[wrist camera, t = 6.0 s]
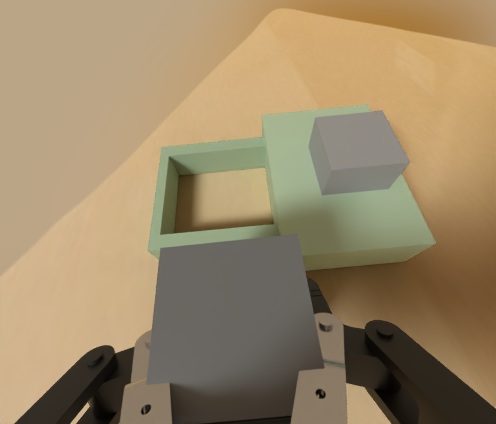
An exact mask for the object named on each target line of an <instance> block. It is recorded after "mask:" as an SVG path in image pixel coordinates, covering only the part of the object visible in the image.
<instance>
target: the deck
mask: <svg viewBox="0 0 496 424" xmlns="http://www.w3.org/2000/svg"><path fill="white" fill-rule="evenodd" d="M409 163H410V161H409V160H408V158H407V156H406V154H405V152H404V150H403V148H402V146H401V145H400V143H399V141H398V139H397V137H396V135H395V133H394V131H393V130H392V128H391V126H390V124H389V122H388V120H387V118H386V116H385V115H384V113H383V111H373V112H371V111H370V108H369V106H368V105H359V106H349V107H339V108H329V109H319V110H309V111H299V112H289V113H280V114H270V115H262V137H258V138H248V139H238V140H228V141H218V142H208V143H198V144H188V145H178V146H168V147H162V148H161V155H160V163H159V170H158V178H157V185H156V192H155V200H154V207H153V215H152V222H151V230H150V237H149V245H148V251H149V252H150V253H151V254H152V255H154V256H155V257H156V258H157V259H159V256H160V248H165V247H175V246H184V245H194V244H204V243H213V242H223V241H233V240H243V239H252V238H262V237H272V236H281V235H291V234H298V237H299V242H300V247H301V252H302V257H303V262H304V267H305V271H310V270H320V269H331V268H342V267H353V266H363V265H374V264H385V263H396V262H405V261H407V260H408V259H410V258H412V257H414V256H415V255H417V254H419V253H421V252H422V251H424V250H426V249H428V248H429V247H431V246H433V245H434V244H436V241H435V239H434V237H433V235H432V233H431V231H430V229H429V227H428V225H427V223H426V221H425V219H424V217H423V215H422V213H421V211H420V209H419V207H418V205H417V203H416V201H415V199H414V197H413V195H412V193H411V191H410V189H409V187H408V185H407V183H406V181H405V179H404V177H403V175H402V172H403V171H404V169H405V168H406V167H407V166H408V164H409ZM263 167H265V169H266V176H267V183H268V190H269V196H270V203H271V210H272V217H273V224H269V225H258V226H248V227H237V228H227V229H216V230H206V231H195V232H185V233H174V231H175V218H176V206H177V193H178V181H179V176H181V175H191V174H202V173H212V172H222V171H232V170H242V169H253V168H263Z"/></svg>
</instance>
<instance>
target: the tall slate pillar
mask: <svg viewBox="0 0 496 424" xmlns="http://www.w3.org/2000/svg"><path fill="white" fill-rule="evenodd" d="M324 368H325V367H324V362H323V357H322V352H321V347H320V342H319V337H318V332H317V327H316V322H315V317H314V312H313V307H312V302H311V297H310V292H309V287H308V282H307V277H306V272H305V267H304V262H303V257H302V252H301V247H300V242H299V237H298V234H291V235H281V236H272V237H262V238H252V239H243V240H233V241H223V242H213V243H204V244H194V245H184V246H175V247H165V248H160V256H159V266H158V275H157V285H156V295H155V304H154V314H153V324H152V333H151V343H150V353H149V363H148V372H147V382H146V385H150V384H161V383H170V389H171V396H172V403H173V409H174V418H175V424H203V423H214V422H225V421H237V420H248V419H260V418H271V417H282V416H292V412H293V405H294V399H295V393H296V387H297V380H298V374H299V371H303V370H313V369H324Z"/></svg>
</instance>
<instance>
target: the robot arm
mask: <svg viewBox="0 0 496 424" xmlns="http://www.w3.org/2000/svg"><path fill="white" fill-rule="evenodd" d="M307 282H308V287H309V292H310V297H311V302H312V307H313V312H314V317H315V322H316V327H317V332H318V337H319V342H320V347H321V352H322V357H323V362H324V367H325V368H324V369H313V370H303V371H299V374H298V380H297V387H296V393H295V399H294V405H293V412H292V416H282V417H271V418H260V419H248V420H237V421H225V422H214V423H203V424H347V397H346V383H349V384H354V385H358V386H362V387H365V389H366V390H367V392H368V393H369V394H370V396H371V397H372V398H373V400H374V401H375V402H376V404H377V405H378V406H379V408H380V409H381V410H382V412H383V413H384V414H385V416H386V417H387V418H388V420H389V421H390V422H391V424H496V409H495V408H494V407H493V406H492V405H490V404H489V403H488V402H487V401H486V400H484V399H483V398H482V397H481V396H480V395H479V394H477V393H476V392H475V391H474V390H473V389H471V388H470V387H469V386H468V385H467V384H465V383H464V382H463V381H462V380H461V379H459V378H458V377H457V376H456V375H455V374H453V373H452V372H451V371H450V370H449V369H447V368H446V367H445V366H444V365H443V364H442V363H440V362H439V361H438V360H437V359H436V358H434V357H433V356H432V355H431V354H430V353H428V352H427V351H426V350H425V349H424V348H422V347H421V346H420V345H419V344H418V343H416V342H415V341H414V340H413V339H412V338H410V337H409V336H408V335H407V334H406V333H404V332H403V331H402V330H401V329H400V328H398V327H397V326H396V325H394V324H392V323H389V322H387V321H382V320H374V321H370V322H368V323H367V324H366V326H365V329H360V328H353V327H349V326H346V325H344V324H343V323H342V321H341V320H340V319H339V318H338V317H336V316H335V315H333V314H332V313H331V311H330V309H329V307H328V305H327V303H326V301H325V299H324V297H323V295H322V293H321V291H320V289H319V287H318V285H317V283H315V282H314V281H313V280H312V279H307ZM151 333H152V330H150V331H148V332H146V333H144V334H143V335H142V336H141V337H140V338H139V339H138V340H137V341H136V343H135V347H132V348H130V349H127V350H124V351H121V352H118V353H115V351H114V348H113V347H112V346H109V345H104V346H100V347H97V348H94V349H92V350H91V351H89V352H87V353H86V354H85V355H84V356H83V357H81V358H80V359H79V360H78V361H77V362H76V363H75V364H74V365H73V366H72V367H71V368H70V369H69V370H68V371H67V372H66V373H65V374H64V375H63V376H62V377H61V378H60V379H59V380H58V381H57V382H56V383H55V384H54V385H53V386H52V387H51V388H50V389H49V390H48V391H47V392H46V393H45V394H44V395H43V396H42V397H41V398H40V399H39V400H38V401H37V402H36V403H35V404H34V405H33V406H32V407H31V408H30V409H29V410H28V411H27V412H26V413H25V414H24V415H23V416H22V417H21V418H20V419H19V420H18V421H17V422H16V423H15V424H70V423H71V422H72V421H73V419H74V418H75V417H76V416H77V414H78V413H79V412H80V411H81V410H82V408H83V407H84V406H85V405H86V403H87V402H88V403H89V406H90V407H89V408H88V410H87V411H86V412H85V413H84V415H83V416H82V417H81V418H80V420H79V421H78V422H77V423H76V424H119V423H120V424H175V418H174V409H173V403H172V396H171V389H170V383H161V384H150V385H146V382H147V372H148V363H149V353H150V343H151Z"/></svg>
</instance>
